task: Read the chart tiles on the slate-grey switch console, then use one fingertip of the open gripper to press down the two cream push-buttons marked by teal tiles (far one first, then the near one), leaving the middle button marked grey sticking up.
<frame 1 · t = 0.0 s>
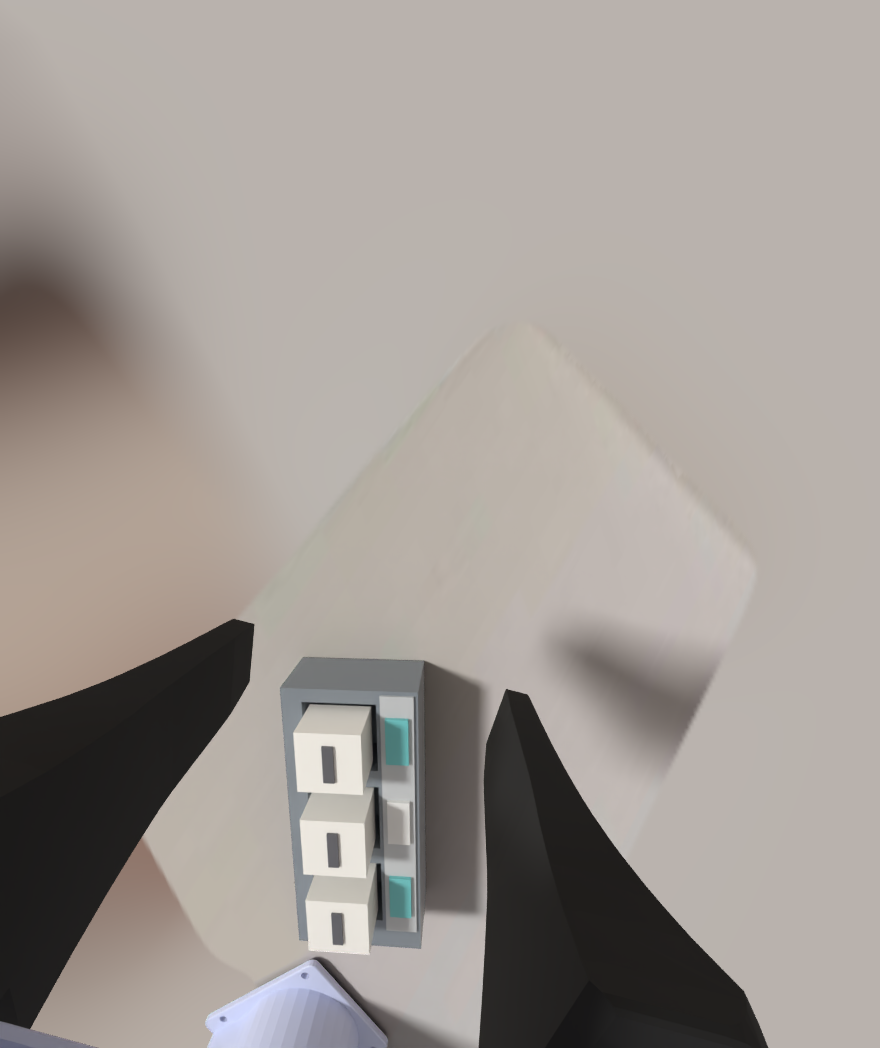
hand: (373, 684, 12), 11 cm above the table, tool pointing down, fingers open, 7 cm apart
button middle: (339, 830, 21), point 4 cm above the table, slide at 0.0 cm
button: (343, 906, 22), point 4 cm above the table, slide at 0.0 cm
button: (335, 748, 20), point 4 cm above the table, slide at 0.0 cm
console: (367, 780, 25), on the table
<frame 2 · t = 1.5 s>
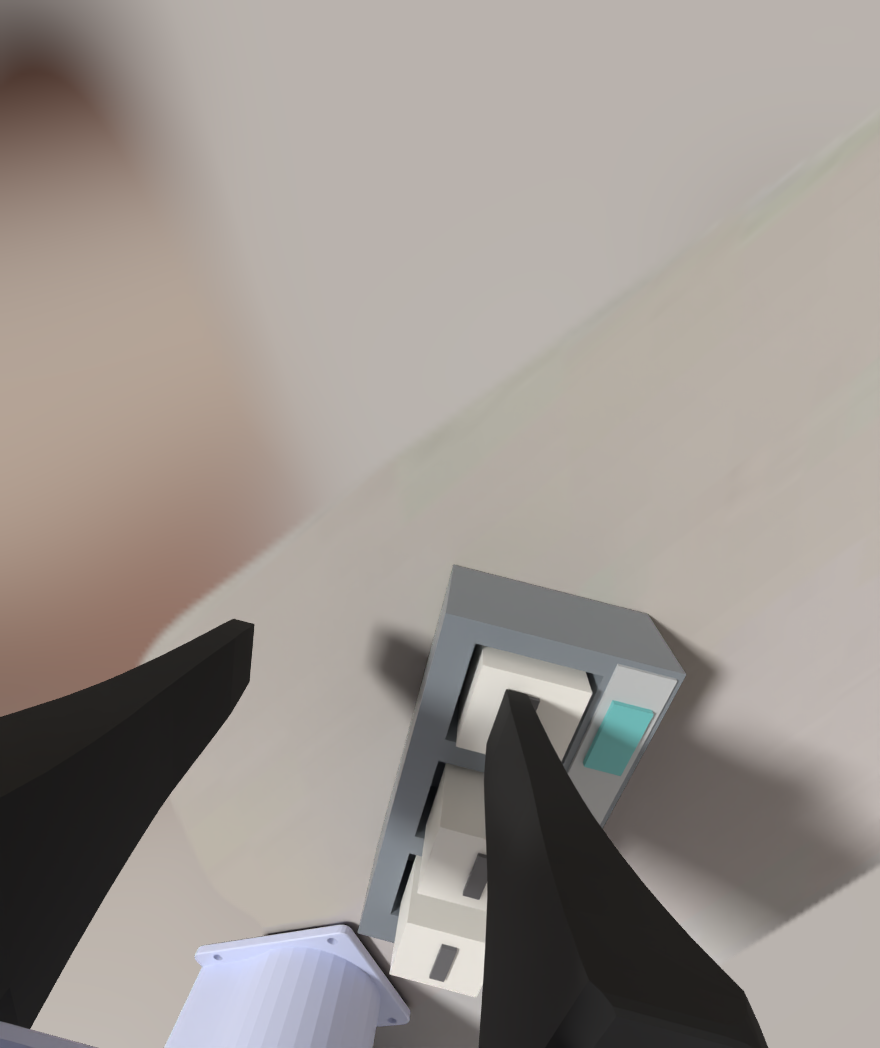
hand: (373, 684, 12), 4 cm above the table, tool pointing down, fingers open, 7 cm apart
button middle: (479, 839, 13), point 4 cm above the table, slide at 0.0 cm
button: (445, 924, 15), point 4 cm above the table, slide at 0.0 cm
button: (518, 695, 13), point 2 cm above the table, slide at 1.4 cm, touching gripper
console: (490, 752, 17), on the table
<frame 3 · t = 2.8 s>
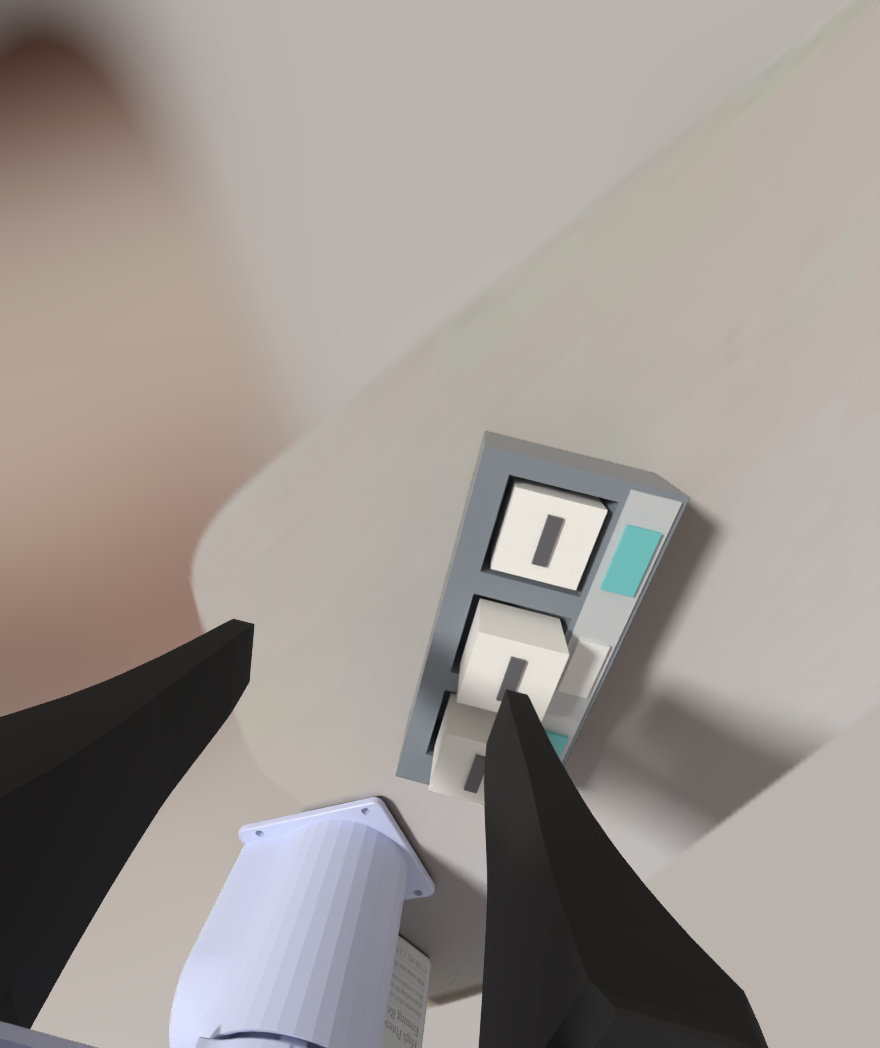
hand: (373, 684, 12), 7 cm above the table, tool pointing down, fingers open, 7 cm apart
button middle: (509, 660, 16), point 4 cm above the table, slide at 0.0 cm
skincare box: (378, 942, 30), on the table
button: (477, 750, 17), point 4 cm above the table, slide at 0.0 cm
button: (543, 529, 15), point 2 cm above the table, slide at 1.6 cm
console: (513, 616, 19), on the table
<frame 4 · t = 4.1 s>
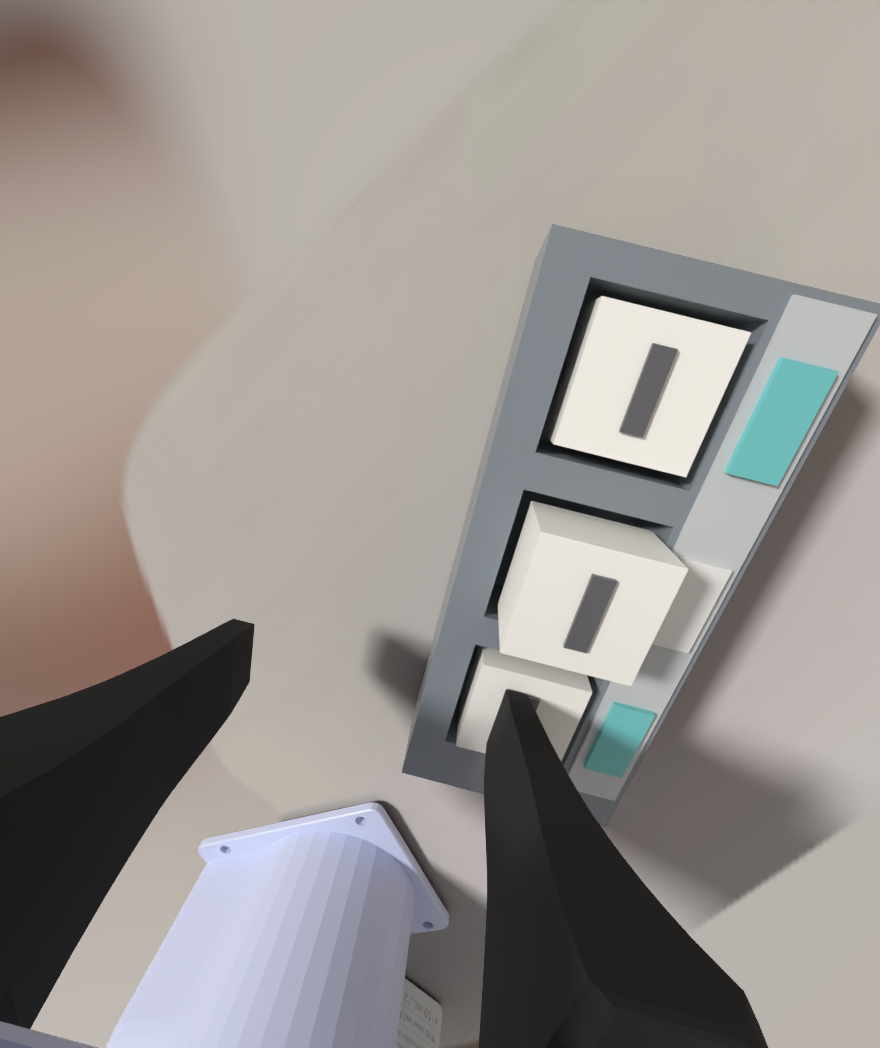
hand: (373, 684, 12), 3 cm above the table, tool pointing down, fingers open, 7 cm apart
button middle: (579, 590, 10), point 4 cm above the table, slide at 0.0 cm
skincare box: (377, 982, 24), on the table
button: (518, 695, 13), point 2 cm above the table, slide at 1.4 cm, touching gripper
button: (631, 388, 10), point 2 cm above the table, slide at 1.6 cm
console: (565, 549, 14), on the table
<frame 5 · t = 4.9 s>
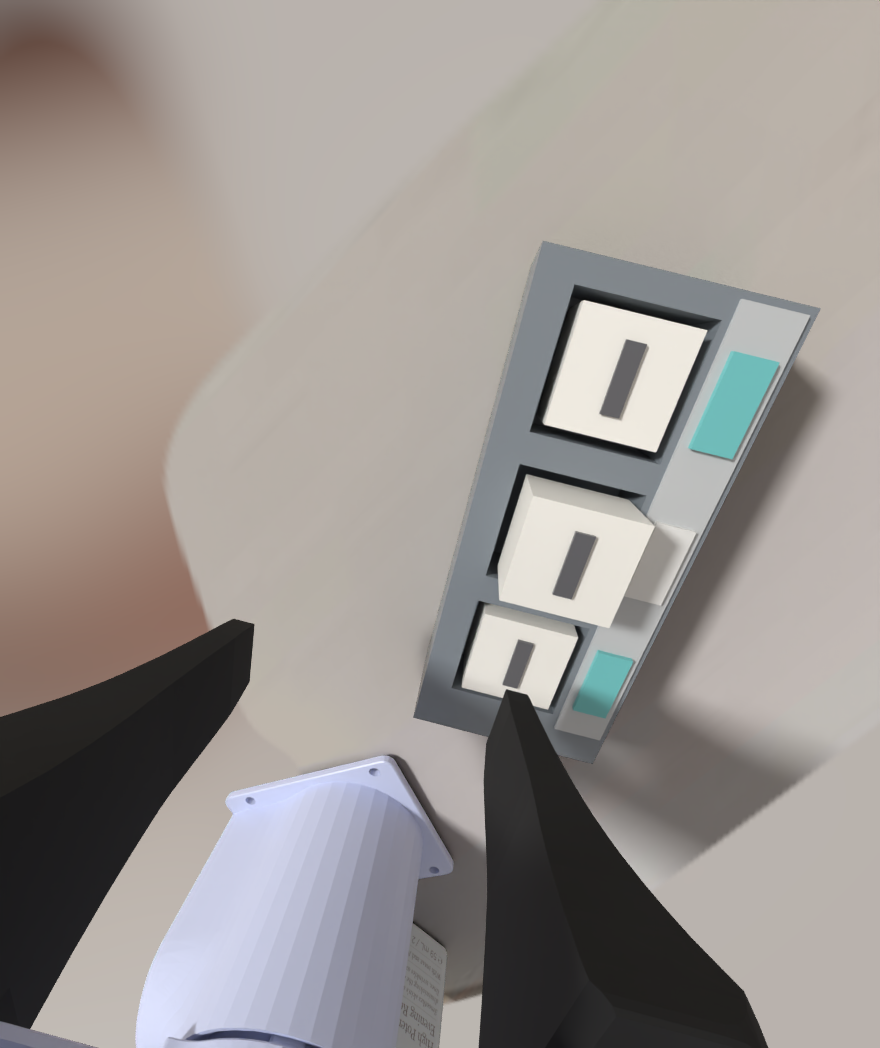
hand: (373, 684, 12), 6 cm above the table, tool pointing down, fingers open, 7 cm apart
button middle: (566, 549, 12), point 4 cm above the table, slide at 0.0 cm
skincare box: (387, 929, 26), on the table
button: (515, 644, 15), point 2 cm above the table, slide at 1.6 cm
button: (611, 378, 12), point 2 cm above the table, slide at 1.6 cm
console: (557, 521, 16), on the table
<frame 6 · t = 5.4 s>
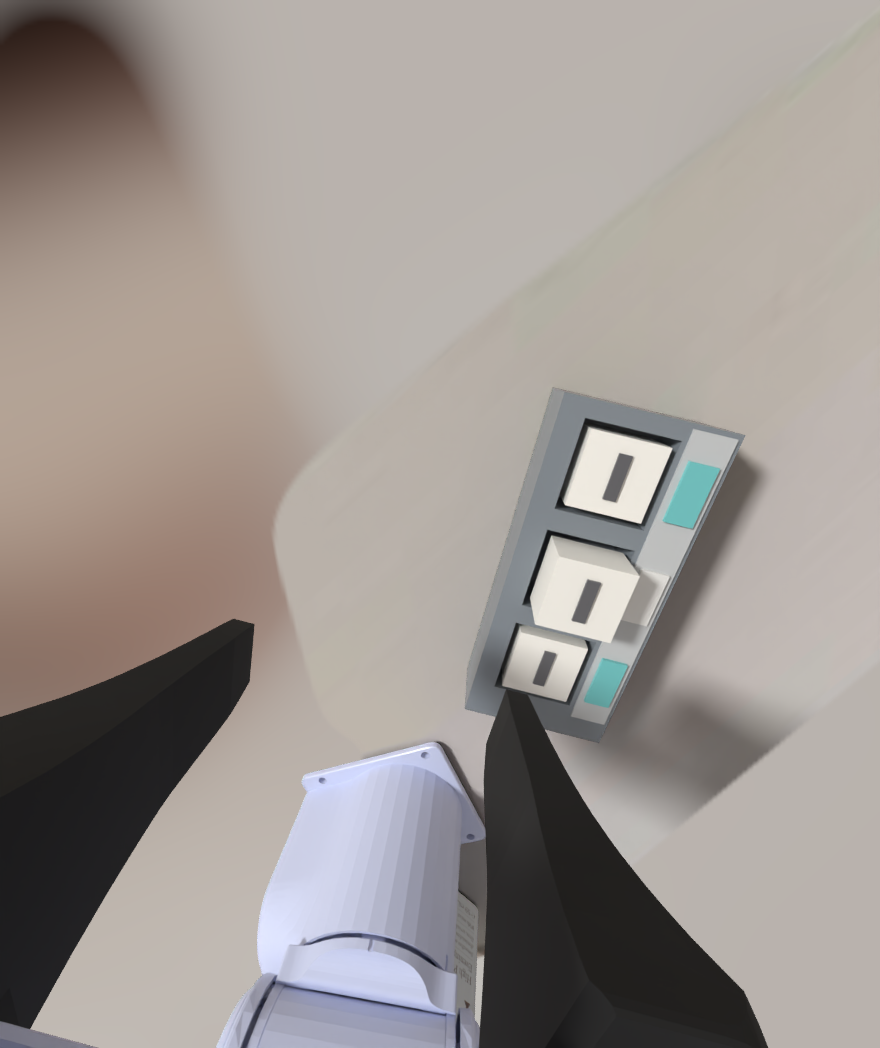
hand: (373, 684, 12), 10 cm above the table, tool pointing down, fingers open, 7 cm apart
button middle: (580, 588, 17), point 4 cm above the table, slide at 0.0 cm
skincare box: (427, 891, 31), on the table
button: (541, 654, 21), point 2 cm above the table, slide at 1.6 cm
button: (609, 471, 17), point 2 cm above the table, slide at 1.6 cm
console: (571, 562, 21), on the table
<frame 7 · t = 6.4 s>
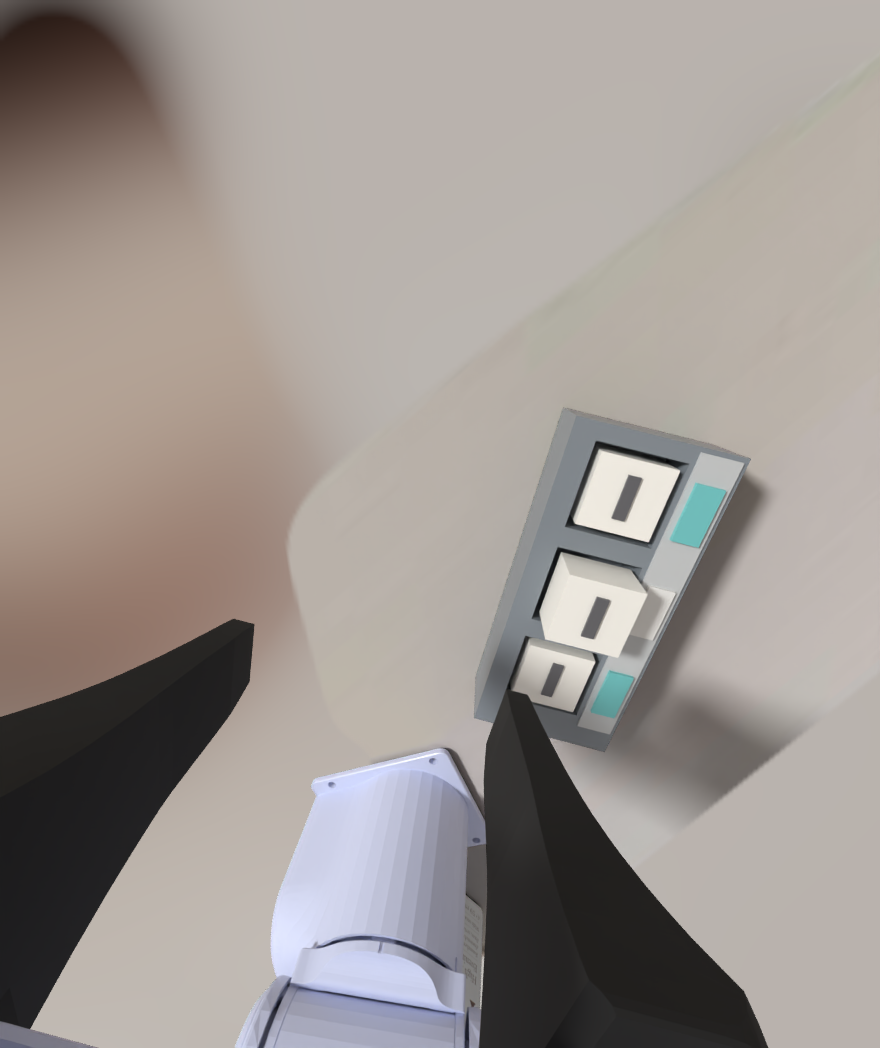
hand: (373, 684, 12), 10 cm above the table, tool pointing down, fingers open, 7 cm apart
button middle: (589, 604, 18), point 4 cm above the table, slide at 0.0 cm
skincare box: (433, 893, 32), on the table
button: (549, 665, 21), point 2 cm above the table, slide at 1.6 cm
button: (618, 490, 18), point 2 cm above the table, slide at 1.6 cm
console: (578, 575, 22), on the table
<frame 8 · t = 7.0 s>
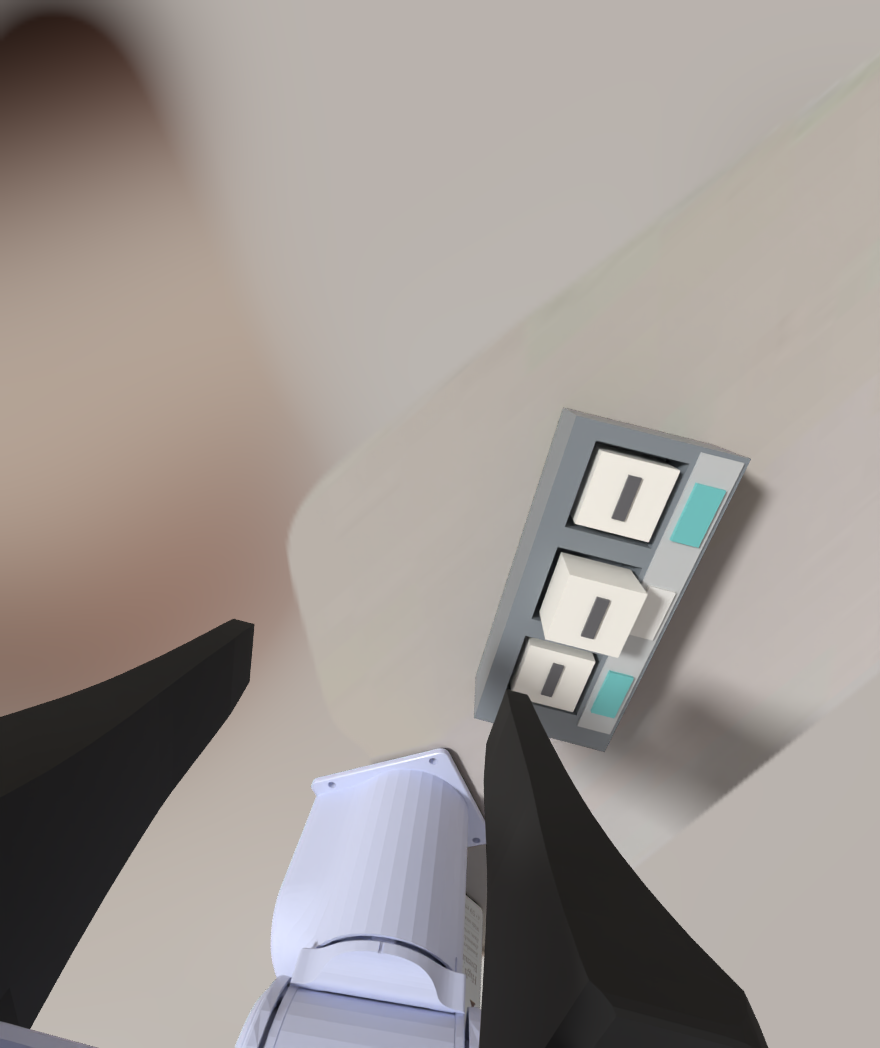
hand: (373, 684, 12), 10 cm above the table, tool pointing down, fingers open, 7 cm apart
button middle: (589, 604, 18), point 4 cm above the table, slide at 0.0 cm
skincare box: (433, 893, 32), on the table
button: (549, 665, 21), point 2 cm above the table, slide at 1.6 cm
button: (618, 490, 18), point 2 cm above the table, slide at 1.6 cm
console: (578, 575, 22), on the table
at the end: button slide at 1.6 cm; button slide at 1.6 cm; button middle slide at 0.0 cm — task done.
